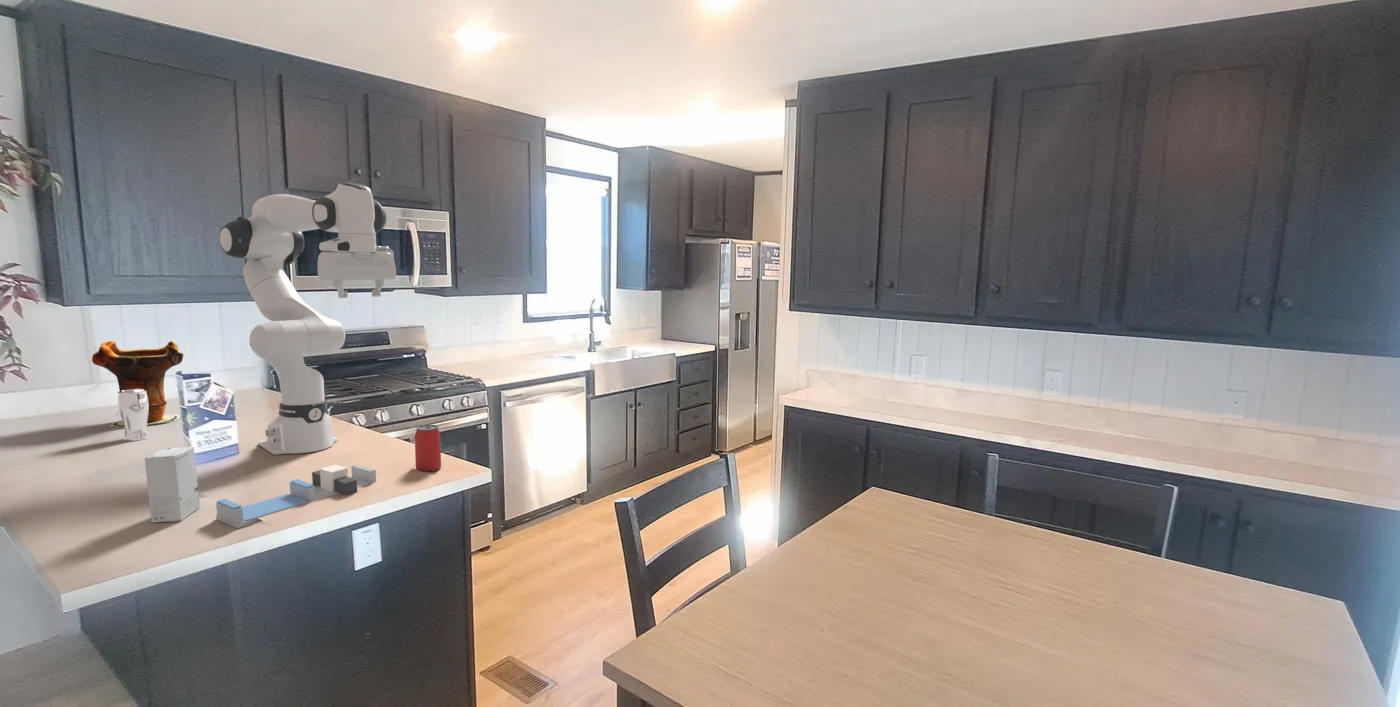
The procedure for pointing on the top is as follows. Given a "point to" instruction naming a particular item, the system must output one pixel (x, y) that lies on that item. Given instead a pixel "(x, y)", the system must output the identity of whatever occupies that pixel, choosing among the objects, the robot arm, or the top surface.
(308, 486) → the slider rail
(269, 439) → the robot arm
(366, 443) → the top surface
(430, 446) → the beer can
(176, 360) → the decorative vase
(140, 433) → the beer glass
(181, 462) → the skincare box
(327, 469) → the grey post with collar
